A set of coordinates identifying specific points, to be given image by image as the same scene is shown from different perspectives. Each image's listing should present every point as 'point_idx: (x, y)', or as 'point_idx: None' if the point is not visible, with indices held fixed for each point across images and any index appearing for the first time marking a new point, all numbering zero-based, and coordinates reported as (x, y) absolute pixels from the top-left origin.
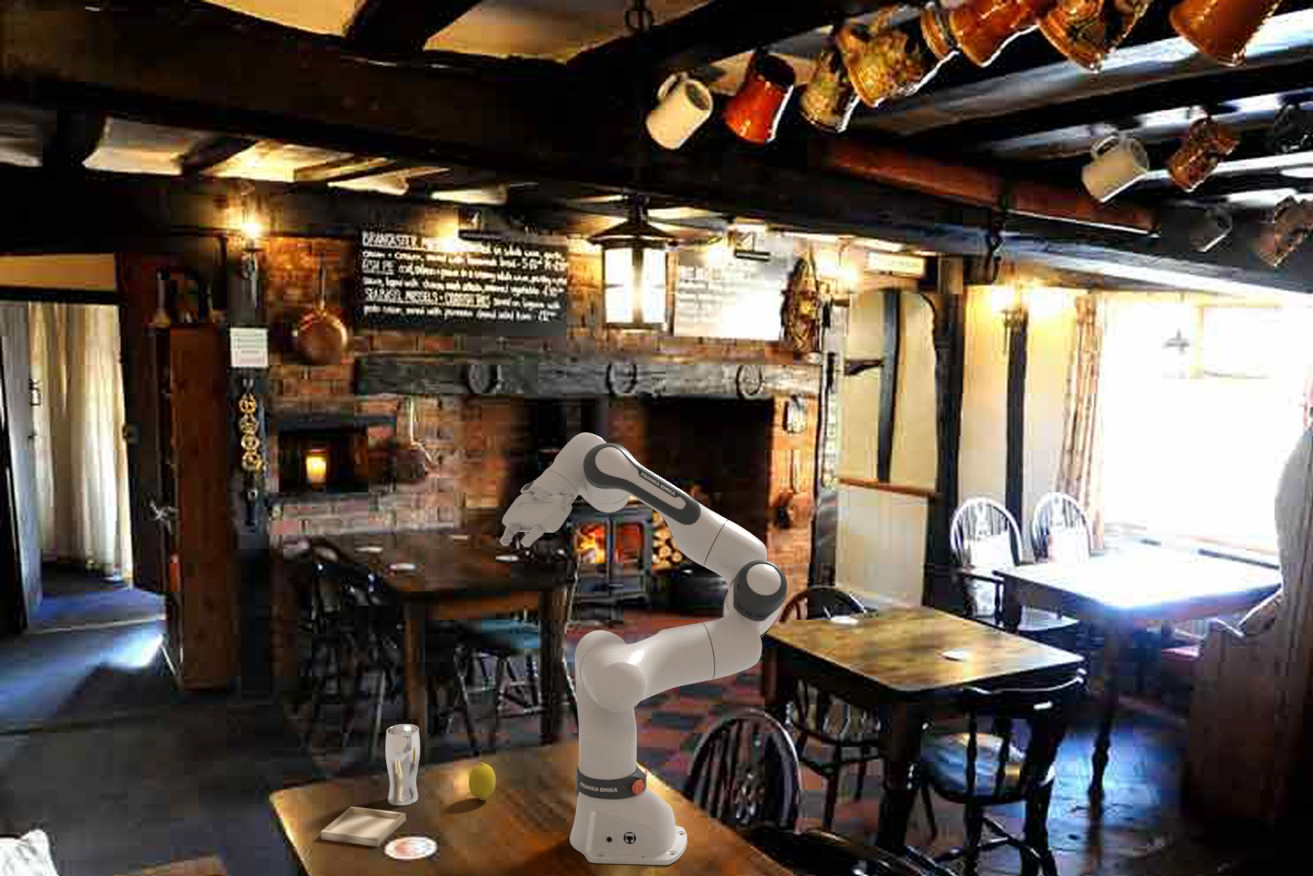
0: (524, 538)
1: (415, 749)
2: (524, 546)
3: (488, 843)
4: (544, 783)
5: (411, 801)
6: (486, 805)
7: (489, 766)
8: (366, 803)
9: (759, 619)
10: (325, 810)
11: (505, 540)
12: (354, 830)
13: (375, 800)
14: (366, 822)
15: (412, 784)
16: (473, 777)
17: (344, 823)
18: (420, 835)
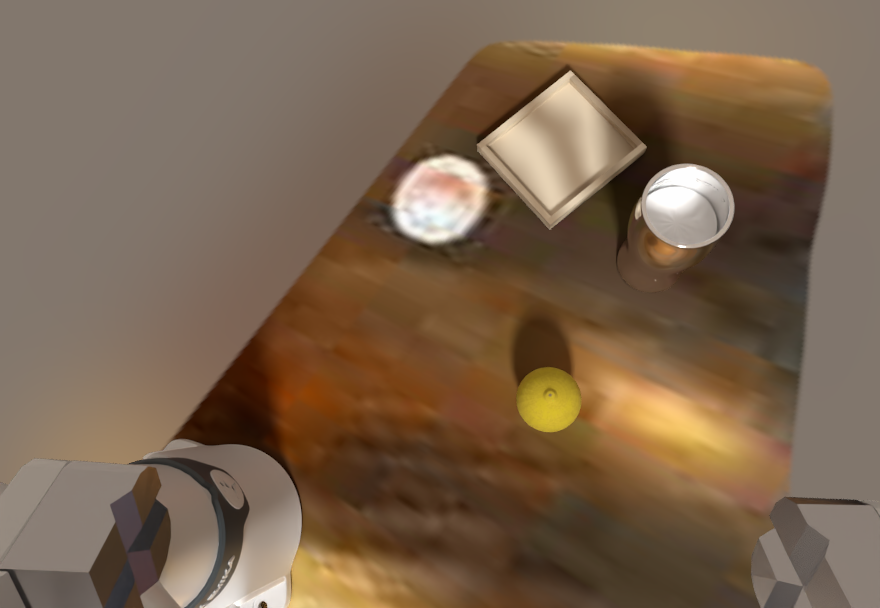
0: (39, 506)
1: (636, 239)
2: (164, 524)
3: (364, 321)
4: (543, 573)
5: (618, 266)
6: None
7: (542, 412)
8: None
9: None
10: (689, 117)
11: (791, 552)
12: (554, 130)
13: None
14: (575, 158)
15: (630, 261)
16: (540, 369)
17: (595, 123)
18: (473, 230)
